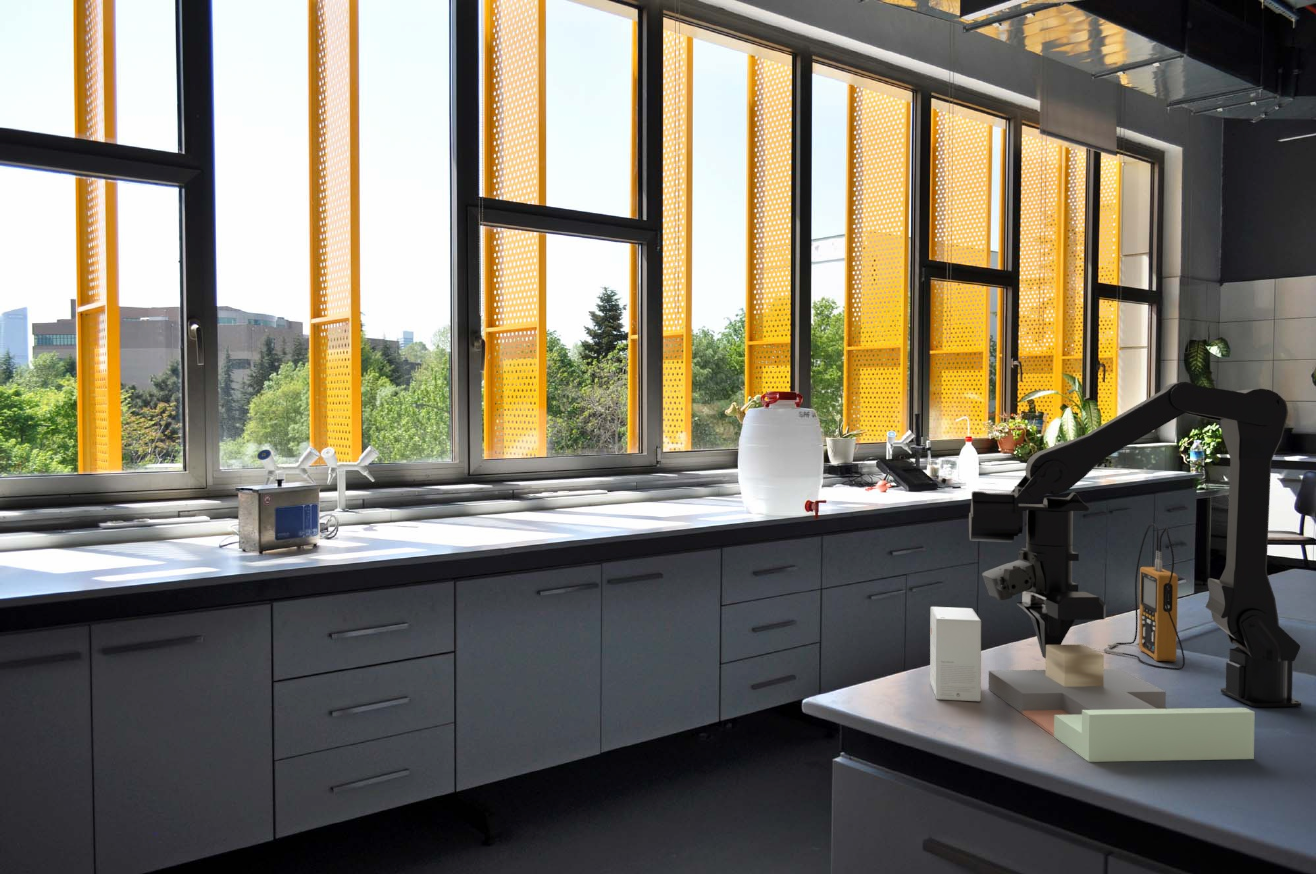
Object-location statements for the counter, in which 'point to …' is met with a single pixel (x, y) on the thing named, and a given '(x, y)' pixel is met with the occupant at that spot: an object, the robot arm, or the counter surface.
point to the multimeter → (1156, 610)
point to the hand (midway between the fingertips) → (1047, 658)
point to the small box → (955, 653)
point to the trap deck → (1125, 719)
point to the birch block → (1074, 665)
